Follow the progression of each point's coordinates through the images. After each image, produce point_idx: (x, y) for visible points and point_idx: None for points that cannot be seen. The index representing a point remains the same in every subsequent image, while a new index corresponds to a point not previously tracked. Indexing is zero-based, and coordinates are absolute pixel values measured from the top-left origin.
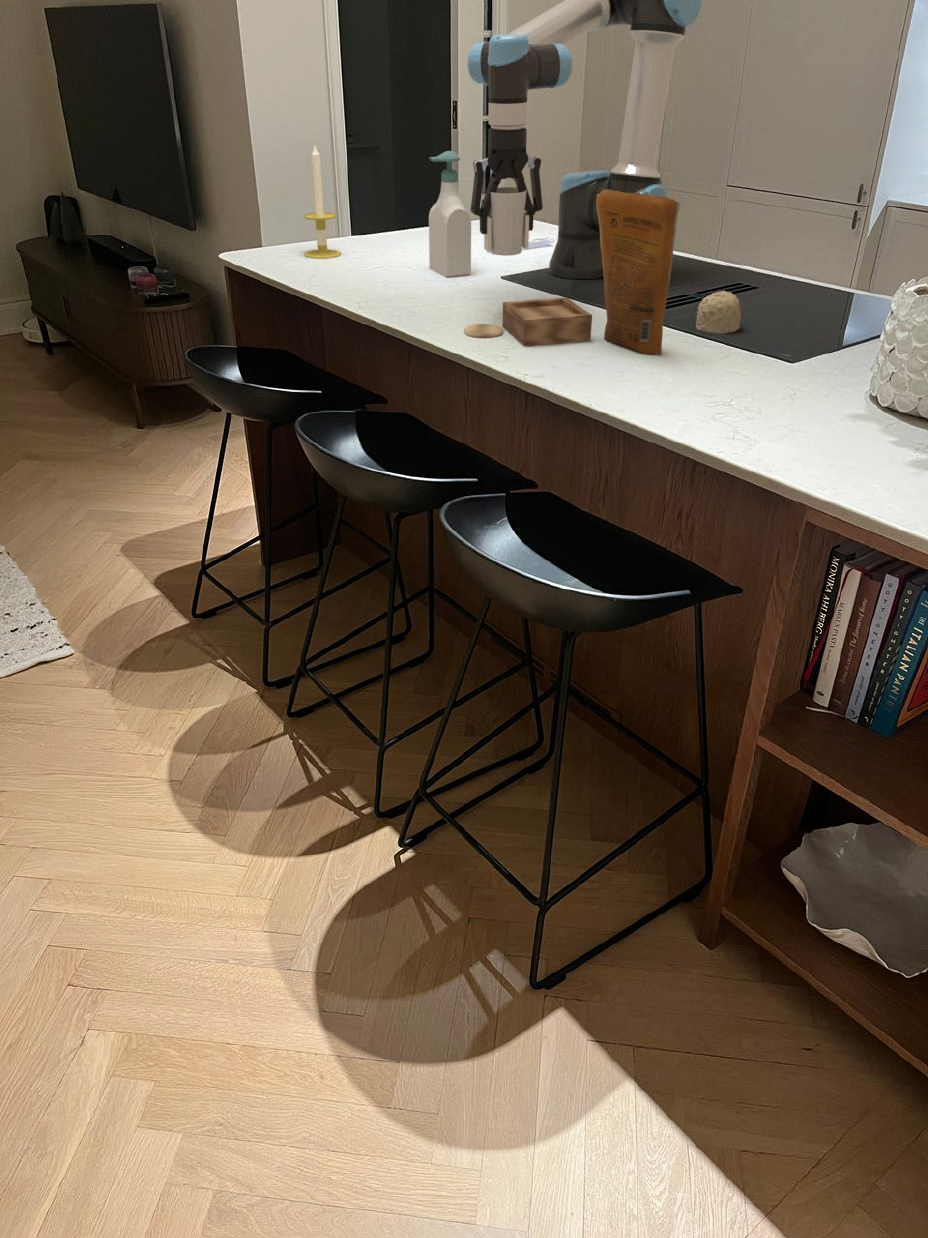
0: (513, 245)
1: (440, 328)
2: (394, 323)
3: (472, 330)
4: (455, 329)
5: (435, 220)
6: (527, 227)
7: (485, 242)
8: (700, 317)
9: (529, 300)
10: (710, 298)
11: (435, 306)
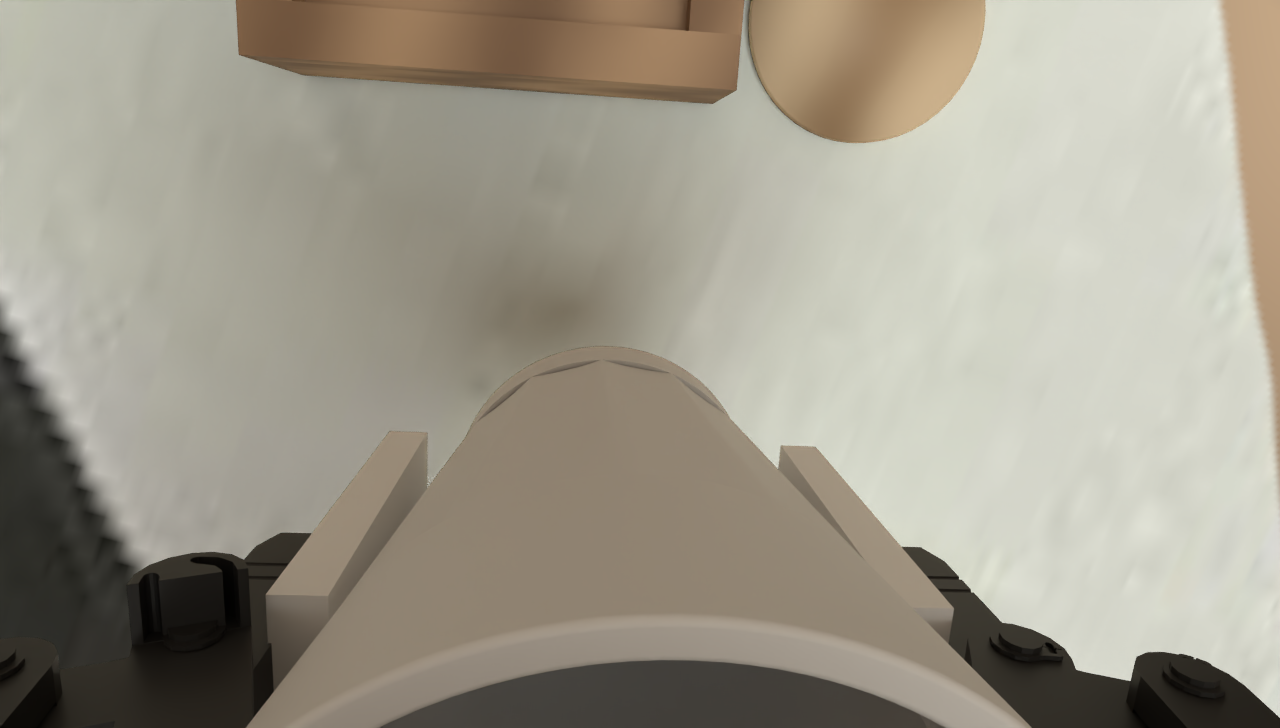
0: (584, 369)
1: (1053, 184)
2: (1232, 356)
3: (938, 17)
4: (986, 136)
5: None
6: (347, 512)
7: None
8: None
9: (540, 66)
10: None
11: None
